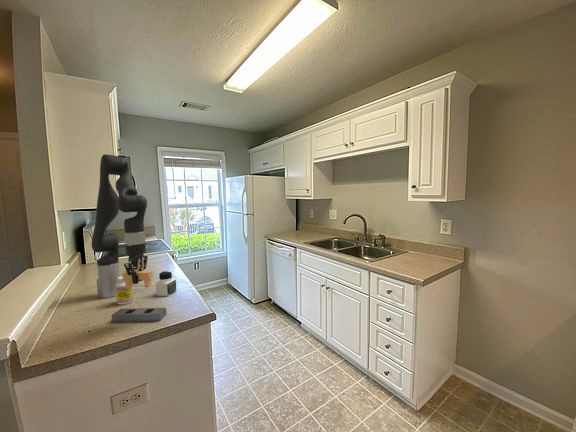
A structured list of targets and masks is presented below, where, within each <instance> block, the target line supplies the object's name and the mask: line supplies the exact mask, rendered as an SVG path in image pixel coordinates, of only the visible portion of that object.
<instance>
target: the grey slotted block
mask: <svg viewBox="0 0 576 432" xmlns="http://www.w3.org/2000/svg"><path fill="white" fill-rule="evenodd" d="M167 312H168V311H167V307H141V308H140V307H139V308H138V307H136V308H135V307H134V308H133V307H132V308H120V309H118V310H117V311H115V312H114V313H113V314H111V322H112V323H122V322H123V323H124V322H126V323H127V322H135V323H136V322H161V320H162V319H164V317H165V316H167V314H168V313H167Z"/></svg>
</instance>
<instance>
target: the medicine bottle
mask: <svg viewBox="0 0 576 432" xmlns="http://www.w3.org/2000/svg"><path fill="white" fill-rule="evenodd" d="M158 274H159V278H158V279H159V281H156V282H155V292H156V294H155V295H156V296H157V297H158V296H159V297H170V296H171V295H173V294H175V293H176V292H177V279H175V278H173V272H172V271H170V270H165V271H164V270H163V271H161V272H160V273H158Z"/></svg>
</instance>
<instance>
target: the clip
mask: <svg viewBox="0 0 576 432" xmlns="http://www.w3.org/2000/svg"><path fill="white" fill-rule="evenodd" d="M130 272H131V271H130ZM153 275H154V274H153V270H144V271H138V280H143V283H144V286H143V287H144V288H145V289H146V288H150V287H151V286H152V278H154V276H153ZM122 277H123V280H125V288H130V287H132V288H133V285H134V284H133V283H132V275H128V274H127V272H126V271H124V272H122Z"/></svg>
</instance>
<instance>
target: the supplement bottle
mask: <svg viewBox="0 0 576 432" xmlns="http://www.w3.org/2000/svg"><path fill="white" fill-rule="evenodd" d="M118 281H119V282H118V283H117V284H116V296H115V297H116V303H117V304H118V305H127V304H130V303H131V302H133V297H134V296H133V286H132V287H130V288H125V280H123V277H122V276H121V275H120V277H119V278H118Z"/></svg>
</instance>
